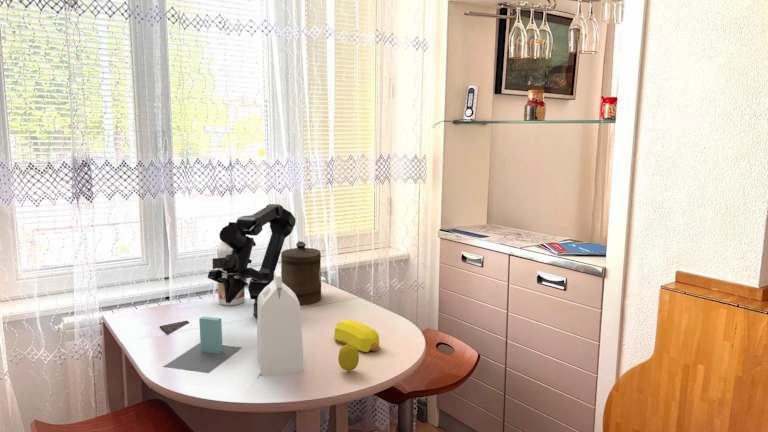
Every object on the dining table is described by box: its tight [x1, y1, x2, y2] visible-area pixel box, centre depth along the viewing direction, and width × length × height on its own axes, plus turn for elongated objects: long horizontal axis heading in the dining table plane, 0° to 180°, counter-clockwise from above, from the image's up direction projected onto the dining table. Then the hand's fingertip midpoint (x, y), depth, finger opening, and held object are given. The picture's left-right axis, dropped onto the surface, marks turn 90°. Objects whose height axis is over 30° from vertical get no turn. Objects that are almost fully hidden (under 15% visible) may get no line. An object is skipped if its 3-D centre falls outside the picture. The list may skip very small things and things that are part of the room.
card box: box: [199, 315, 223, 354], centre depth 167 cm, size 2×6×10 cm, turn 75°
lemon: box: [337, 344, 360, 373], centre depth 156 cm, size 6×6×8 cm
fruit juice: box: [216, 226, 246, 307], centre depth 212 cm, size 9×9×28 cm
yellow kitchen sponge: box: [333, 318, 380, 353], centre depth 175 cm, size 18×7×8 cm
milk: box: [256, 270, 305, 377], centre depth 159 cm, size 12×12×26 cm
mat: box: [162, 341, 243, 374], centre depth 165 cm, size 18×14×1 cm
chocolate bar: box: [159, 320, 191, 336], centre depth 184 cm, size 9×1×18 cm
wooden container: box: [280, 241, 322, 306], centre depth 217 cm, size 15×15×22 cm
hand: (227, 302), depth 176 cm, fingers closed
